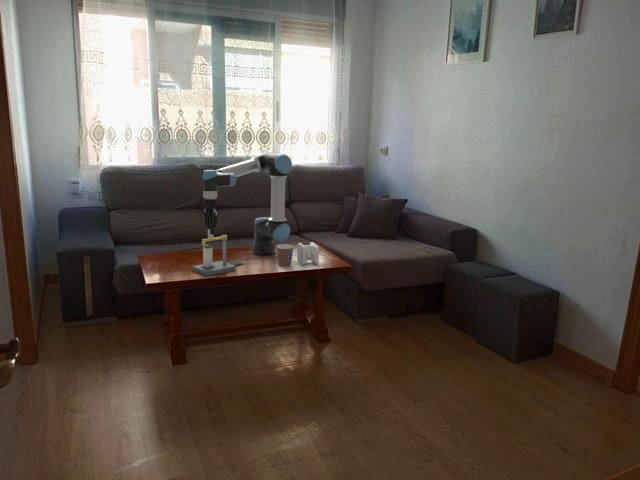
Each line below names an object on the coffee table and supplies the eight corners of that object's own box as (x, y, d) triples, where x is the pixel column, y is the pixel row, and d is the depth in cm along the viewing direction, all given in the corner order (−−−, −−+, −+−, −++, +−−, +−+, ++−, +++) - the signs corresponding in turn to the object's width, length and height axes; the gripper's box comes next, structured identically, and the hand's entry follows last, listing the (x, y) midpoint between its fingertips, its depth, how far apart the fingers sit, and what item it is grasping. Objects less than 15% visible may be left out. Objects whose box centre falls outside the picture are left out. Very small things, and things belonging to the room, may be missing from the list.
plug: (209, 269, 290) (209, 243, 287) (215, 271, 286) (215, 245, 283) (200, 271, 286) (200, 245, 283) (206, 273, 282) (205, 247, 279)
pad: (235, 261, 308) (235, 260, 308) (243, 264, 303) (243, 263, 303) (224, 263, 303) (224, 262, 303) (231, 266, 297) (231, 265, 297)
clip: (225, 241, 293) (225, 234, 292) (228, 242, 291) (228, 235, 290) (201, 245, 282) (201, 238, 281) (204, 246, 280) (204, 239, 279)
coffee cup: (290, 268, 298) (291, 248, 295) (273, 267, 299) (274, 247, 297) (295, 264, 307) (295, 244, 305) (278, 262, 309) (279, 243, 307)
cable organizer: (296, 259, 318) (296, 241, 315) (312, 259, 321) (313, 241, 318) (302, 266, 304) (303, 247, 301) (319, 265, 307) (320, 246, 304)
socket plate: (220, 264, 301) (220, 236, 297) (235, 270, 290) (235, 241, 287) (192, 270, 288) (191, 240, 284) (206, 276, 277) (206, 245, 274)
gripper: (198, 197, 284) (198, 238, 289) (210, 200, 275) (211, 242, 280) (209, 196, 289) (210, 236, 294) (222, 199, 280) (222, 241, 285)
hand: (210, 239), depth 287 cm, fingers closed
